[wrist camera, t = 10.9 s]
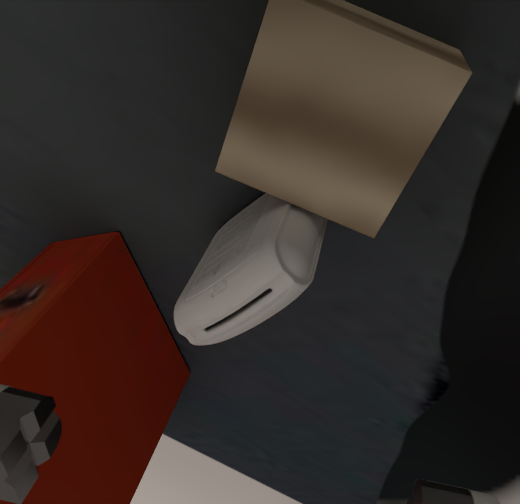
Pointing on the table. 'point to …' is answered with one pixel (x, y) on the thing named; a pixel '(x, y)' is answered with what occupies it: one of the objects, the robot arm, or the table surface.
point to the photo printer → (250, 270)
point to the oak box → (339, 109)
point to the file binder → (91, 366)
